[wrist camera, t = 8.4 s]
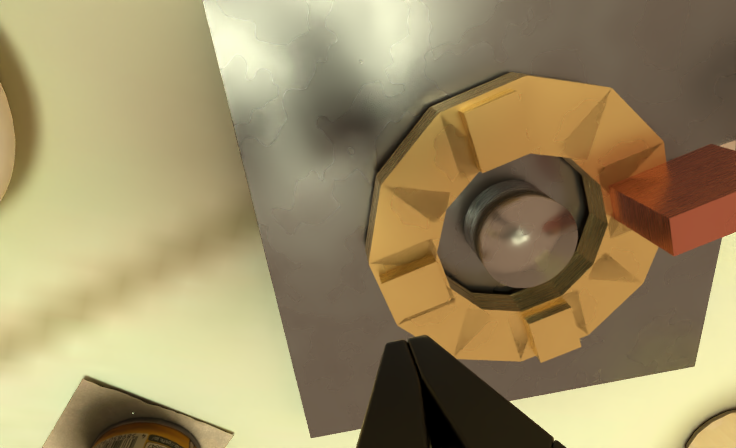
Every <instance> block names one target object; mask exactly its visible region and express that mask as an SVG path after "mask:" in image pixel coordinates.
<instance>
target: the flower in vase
mask: <svg viewBox="0 0 736 448" xmlns="http://www.w3.org/2000/svg"><path fill="white" fill-rule="evenodd" d="M14 161H15V132H14V125H13V118H12V114H11V111H10V107H9V104H8V100H7V97H6V94H5V92H4V90H3V87H2V85H1V83H0V201H1V200H2V198H3V196H4V194H5V193H6V191H7V188H8V185H9V182H10V179H11V176H12V173H13V167H14Z"/></svg>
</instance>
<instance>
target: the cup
mask: <svg viewBox="0 0 736 448" xmlns="http://www.w3.org/2000/svg"><path fill="white" fill-rule="evenodd" d="M686 448H736V410H731V411H726V412H724V413H722V414H720V415H718V416H716V417H714V418H712V419H710V420H708V421H707V422H706V423H705V424H703V425H702V426H701V427H700V428H698V429H697V430H696V431H695V432H694V434H693V435H692V437H691V438H690V439H689V441H688V442H687V445H686Z"/></svg>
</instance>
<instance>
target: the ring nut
mask: <svg viewBox="0 0 736 448" xmlns="http://www.w3.org/2000/svg"><path fill="white" fill-rule="evenodd" d="M530 153H531V154H539V155H548V156H557V157H562V158H563V159H564V160H565V161H567V162H568V163H569V164H570V165H571V166H572V167H573V168H574V169H576V170H577V171H578V172H579V173H580V174H581V175H582V178H583V183H584V188H585V193H586V197H587V202H588V207H589V212H590V213H589V216H588V219H587V222H586V224H585V227H584V230H583V233H582V236H581V239H580V242H579V245H578V247H577V250H576V251H575V252H574V254H573V256H572V258H571V260H570V261H569V263H568V264H567V265H566V266H565V268H564V269H563V270H562V271H561V272H560V273H559V274H557V275H556V276H555V277H553V278H552V279H550V280H549V281H547V282H545V283H543V284H540V285H537V286H534V287H529V288H526V289H524V290H521V291H519V292H516V293H514V294H511V295H499V294H483V293H471V292H470V291H468V290H467V289H466V288H464V287H463V286H461V285H460V284H458V283H457V282H455V281H454V280H452V279H451V278H449V277H448V276H446V275H445V272H444V270H443V267H442V264H441V262H440V259H439V257H438V254H437V250H438V246H439V241H440V237H441V232H442V227H443V223H444V218H445V214H446V210H447V208H448V207H449V206H450V205H451V204H452V203H453V201H454V200H455V199H456V198H457V197H458V196H459V195H460V193H461V192H462V191H463V190H464V189H465V188H466V186H467V185H468V184H469V183H470V182H471V181H472V179H473V178H474V177H475V176H476V175H477V174H478V172H482V173H485V172H487V171H489V170H492V169H494V168H496V167H499V166H501V165H504V164H506V163H508V162H511V161H513V160H516V159H518V158H520V157H523V156H525V155H528V154H530ZM734 232H736V151H735V150H731V149H728V148H724V147H721V146H717V145H714V144H709V145H707V146H704V147H702V148H699V149H697V150H694V151H692V152H690V153H687V154H685V155H682V156H680V157H677V158H675V159H673V160H670V161H668V162H666V155H665V147H664V141H663V140H662V139H661V138H660V137H659V136H658V135H657V134H656V133H655V132H654V131H653V130H652V129H651V128H650V127H649V126H648V125H647V124H646V123H645V122H644V121H643V120H642V119H641V118H640V117H639V115H638V114H637V113H636V112H635V111H634V110H633V109H632V108H631V107H630V106H629V105H628V104H627V103H626V102H625V101H624V100H623V99H622V98H621V97H620V96H619V95H618V94H617V93H616V92H615V91H614V90H613V89H612V88H610V87H605V86H600V85H595V84H590V83H583V82H576V81H569V80H563V79H556V78H549V77H542V76H535V75H528V74H522V73H515V72H510V73H508V74H505V75H503V76H501V77H498V78H496V79H494V80H491V81H489V82H487V83H484V84H482V85H480V86H477V87H475V88H473V89H470V90H468V91H466V92H463V93H461V94H459V95H456V96H454V97H452V98H449V99H447V100H445V101H442V102H440V103H438V104H435V105H433V106H431V107H429V108H428V110H427V111H426V112H425V113H424V115H423V116H422V117H421V119H420V120H419V121H418V122H417V124H416V125H415V126H414V127H413V129H412V130H411V131H410V132H409V134H408V135H407V136H406V137H405V139H404V140H403V141H402V143H401V144H400V145H399V146H398V148H397V149H396V150H395V151H394V153H393V154H392V155H391V156H390V158H389V159H388V160H387V161H386V163H385V164H384V165H383V167H382V168H381V169H380V170H379V172H378V173H377V174H376V179H375V185H374V192H373V199H372V205H371V212H370V218H369V225H368V232H367V238H366V245H365V251H366V255H367V259H368V264H369V266H370V268H371V270H372V272H373V275H374V277H375V279H376V281H377V283H378V285H379V287H380V290H381V292H382V294H383V296H384V298H385V300H386V303H387V305H388V307H389V309H390V311H391V313H392V315H393V318H394V320H395V322H396V324H397V326H399V327H401V328H402V329H404V330H406V331H407V332H409V333H411V334H412V335H414V336H415V337H416V336H421V335H428V336H429V337H430V338H432V339H433V340H434V341H435V342H437V343H438V344H439V345H440V346H441V347H443V348H444V349H445V350H446V351H448V352H449V353H450V354H451V355H453V356H454V357H455V358H456V359H467V360H492V361H518V362H521V361H524V360H526V359H529V358H531V357H534V356H536V357H537V358H538V360H539V361H540V363H542V362H544V361H547V360H549V359H552V358H555V357H557V356H560V355H562V354H565V353H567V352H570V351H572V350H575V349H577V348H580V347H581V343H580V338H582V337H585V336H587V335H589V334H590V333H591V332H592V331H593V330H594V329H595V328H596V327H597V326H599V325H600V324H601V323H602V322H603V321H604V320H605V319H606V318H607V317H608V316H609V315H610V314H611V313H612V312H613V311H614V310H616V309H617V308H618V307H619V306H620V305H621V304H622V303H623V302H624V301H625V300H626V299H627V298H628V297H629V296H630V295H631V294H632V293H634V292H635V291H636V290H637V289H638V288H639V287H640V286H641V285H642V284H643V283H644V280H645V278H646V276H647V273H648V271H649V269H650V266H651V264H652V261H653V259H654V257H655V254H656V252H657V250H658V247H660V248H661V249H663V250H665V251H666V252H668V253H669V254H671V255H672V256H677V255H679V254H682V253H684V252H687V251H689V250H692V249H694V248H697V247H699V246H702V245H704V244H707V243H709V242H712V241H714V240H717V239H719V238H722V237H724V236H727V235H729V234H732V233H734Z"/></svg>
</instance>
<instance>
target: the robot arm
mask: <svg viewBox="0 0 736 448" xmlns="http://www.w3.org/2000/svg"><path fill="white" fill-rule="evenodd" d="M356 448H566V447H565V446H564V445H562V444H561V443H560V442H559V441H557V440H555V441H554V438H553V437H552V436H551V435H550V434H549V433H547V432H546V431H545V430H544V429H542V428H541V427H540V426H539V425H538V424H536V423H535V422H534V421H533V420H531V419H530V418H529V417H528V416H526V415H525V414H524V413H523V412H521V411H520V410H519V409H518V408H517V407H515V406H514V405H513V404H512V403H510V402H509V401H508V400H507V399H505V398H504V397H503V396H502V395H501V394H499V393H498V392H497V391H496V390H494V389H493V388H492V387H491V386H489V385H488V384H487V383H486V382H485V381H483V380H482V379H481V378H480V377H478V376H477V375H476V374H475V373H473V372H472V371H471V370H470V369H469V368H467V367H466V366H465V365H464V364H462V363H461V362H460V361H459V360H457V359H456V358H455V357H454V356H453V355H451V354H450V353H449V352H448V351H446V350H445V349H444V348H443V347H441V346H440V345H439V344H438V343H437V342H435V341H434V340H433V339H432V338H430V337H429V336H428V335H421V336H416V337H411V338H409V339H408V340H407V342H406V341H405V340H404V339H402V340H397V341H392V342H388V343H386V344H385V347H384V350H383V354H382V357H381V361H380V364H379V368H378V371H377V375H376V378H375V382H374V386H373V389H372V393H371V396H370V400H369V403H368V407H367V410H366V414H365V418H364V421H363V425H362V428H361V432H360V435H359V439H358V442H357V446H356Z"/></svg>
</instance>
